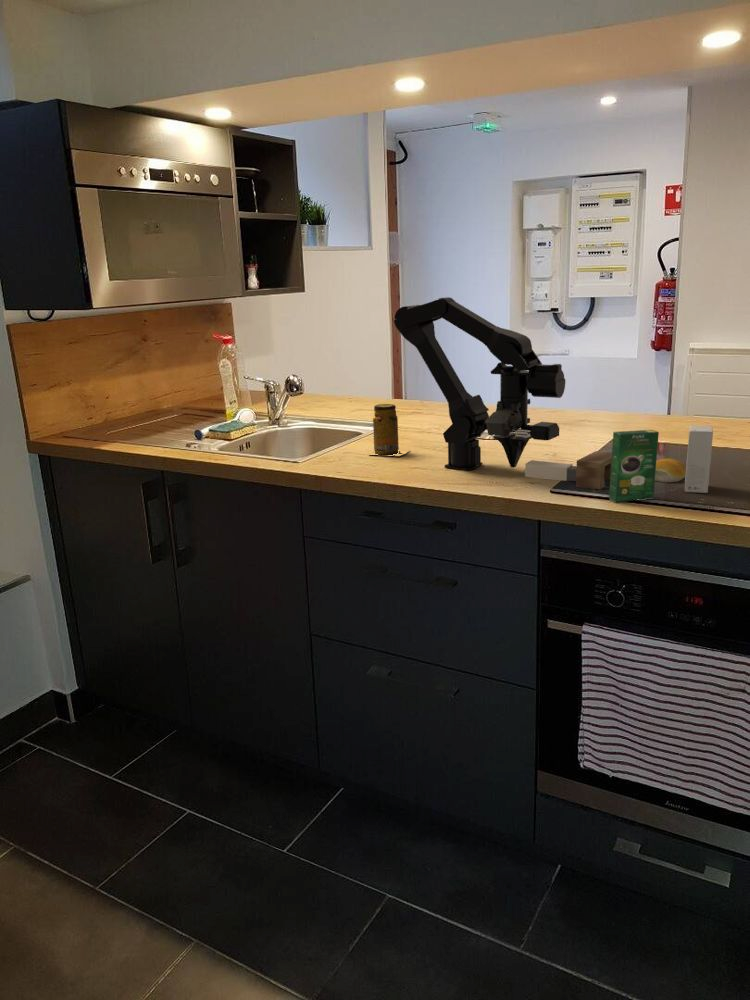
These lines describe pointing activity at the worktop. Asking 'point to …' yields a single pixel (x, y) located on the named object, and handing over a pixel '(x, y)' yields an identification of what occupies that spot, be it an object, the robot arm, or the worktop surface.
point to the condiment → (385, 429)
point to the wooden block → (593, 470)
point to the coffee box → (633, 465)
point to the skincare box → (698, 459)
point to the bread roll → (669, 470)
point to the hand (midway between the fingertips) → (513, 467)
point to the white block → (550, 470)
